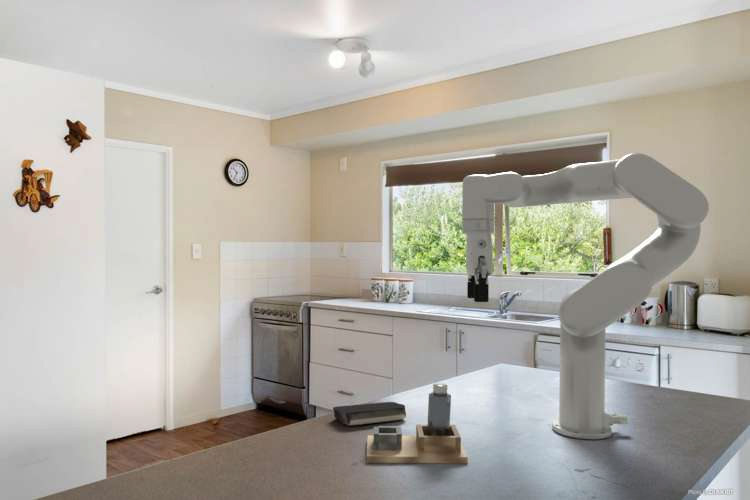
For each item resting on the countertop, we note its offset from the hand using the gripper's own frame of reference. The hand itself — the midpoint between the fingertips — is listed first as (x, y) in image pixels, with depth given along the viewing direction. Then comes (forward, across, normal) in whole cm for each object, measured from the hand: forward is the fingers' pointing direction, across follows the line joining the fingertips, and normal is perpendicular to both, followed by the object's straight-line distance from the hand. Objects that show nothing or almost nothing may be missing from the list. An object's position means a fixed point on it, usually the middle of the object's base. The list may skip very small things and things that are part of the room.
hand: (477, 299), depth 136 cm
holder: (+28, -22, +16) cm, 39 cm away
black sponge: (+29, -1, +25) cm, 38 cm away
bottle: (+27, -22, +12) cm, 37 cm away
